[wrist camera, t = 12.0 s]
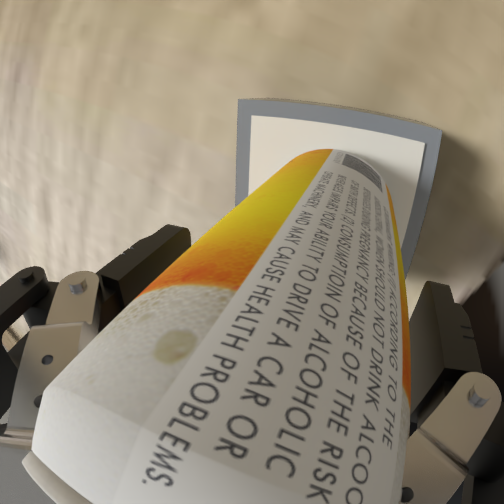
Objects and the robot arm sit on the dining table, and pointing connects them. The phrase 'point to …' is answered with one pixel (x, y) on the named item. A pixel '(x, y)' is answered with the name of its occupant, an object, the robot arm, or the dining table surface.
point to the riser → (346, 139)
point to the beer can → (249, 361)
